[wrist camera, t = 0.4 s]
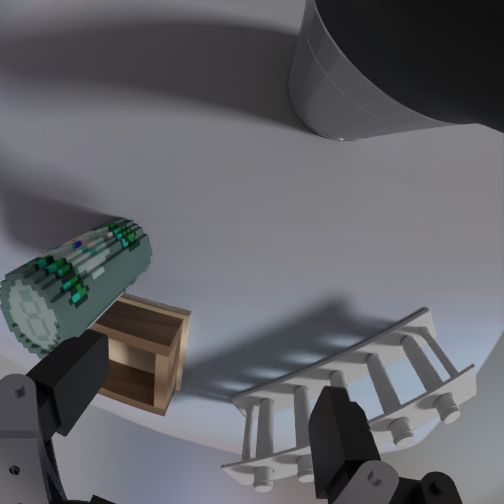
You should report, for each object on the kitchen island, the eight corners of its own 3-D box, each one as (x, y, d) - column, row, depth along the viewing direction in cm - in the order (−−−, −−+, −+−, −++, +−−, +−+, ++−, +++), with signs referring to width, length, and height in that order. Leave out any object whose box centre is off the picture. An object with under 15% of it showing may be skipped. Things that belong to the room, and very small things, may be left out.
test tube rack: (249, 416, 35) (241, 502, 23) (231, 395, 34) (216, 485, 22) (434, 335, 30) (487, 408, 18) (426, 306, 29) (487, 380, 17)
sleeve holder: (98, 285, 31) (69, 309, 25) (191, 311, 31) (175, 344, 25) (101, 360, 34) (80, 388, 28) (181, 386, 34) (168, 420, 28)
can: (143, 214, 28) (43, 268, 14) (157, 273, 30) (80, 362, 16) (93, 225, 29) (-11, 277, 14) (108, 279, 30) (22, 356, 16)
